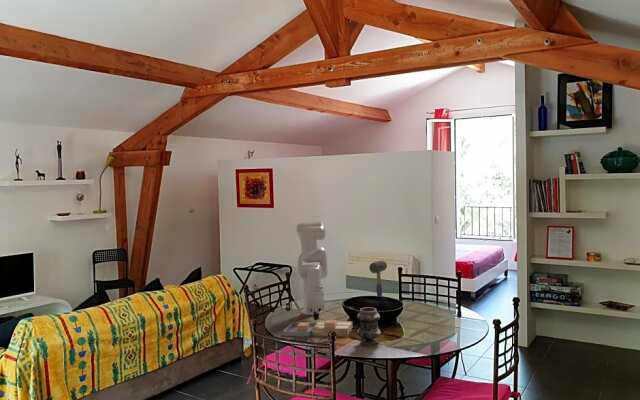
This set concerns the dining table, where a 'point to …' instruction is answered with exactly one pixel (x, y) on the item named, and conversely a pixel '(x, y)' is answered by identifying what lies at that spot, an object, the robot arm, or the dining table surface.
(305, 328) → the tile
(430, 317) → the dining table surface
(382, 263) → the rubber mallet
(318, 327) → the cream slotted tray
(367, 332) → the apothecary jar
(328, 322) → the tile
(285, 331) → the tray
